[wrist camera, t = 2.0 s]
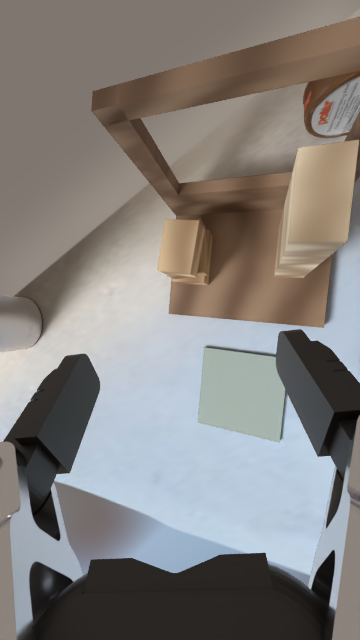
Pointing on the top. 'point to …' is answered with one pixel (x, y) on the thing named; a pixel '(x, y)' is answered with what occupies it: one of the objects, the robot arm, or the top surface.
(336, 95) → the tin
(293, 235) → the pale wooden block
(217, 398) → the mat
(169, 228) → the offcut top
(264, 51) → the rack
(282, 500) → the top surface
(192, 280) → the offcut low
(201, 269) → the offcut mid
